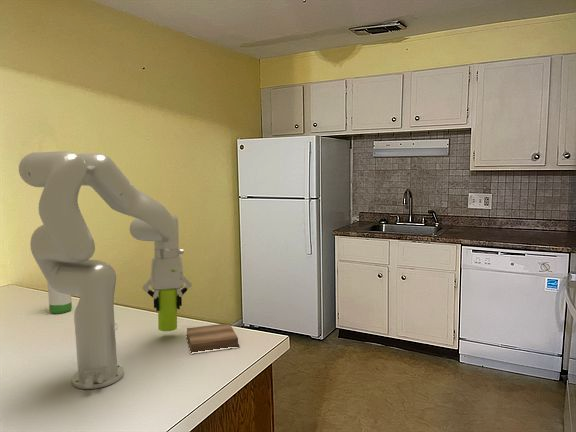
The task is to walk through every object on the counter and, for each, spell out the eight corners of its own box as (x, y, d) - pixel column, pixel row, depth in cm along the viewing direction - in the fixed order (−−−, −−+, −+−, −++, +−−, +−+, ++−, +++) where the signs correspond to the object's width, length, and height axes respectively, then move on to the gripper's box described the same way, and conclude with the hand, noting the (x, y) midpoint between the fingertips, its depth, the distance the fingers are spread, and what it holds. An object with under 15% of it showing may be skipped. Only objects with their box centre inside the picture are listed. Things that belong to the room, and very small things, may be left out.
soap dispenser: (168, 333, 140) (168, 270, 139) (154, 328, 144) (154, 267, 143) (182, 328, 145) (183, 267, 143) (169, 324, 149) (169, 265, 147)
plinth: (239, 347, 136) (239, 338, 136) (190, 354, 132) (190, 344, 132) (230, 331, 150) (230, 322, 150) (186, 336, 146) (185, 328, 145)
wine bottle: (52, 309, 176) (46, 234, 173) (73, 307, 178) (68, 233, 175) (47, 315, 169) (41, 237, 165) (70, 313, 171) (64, 235, 168)
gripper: (193, 250, 149) (193, 303, 150) (138, 253, 143) (139, 308, 145) (195, 254, 142) (196, 310, 143) (138, 257, 136) (139, 314, 138)
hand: (167, 308), depth 144 cm, fingers closed on soap dispenser, 5 cm apart
